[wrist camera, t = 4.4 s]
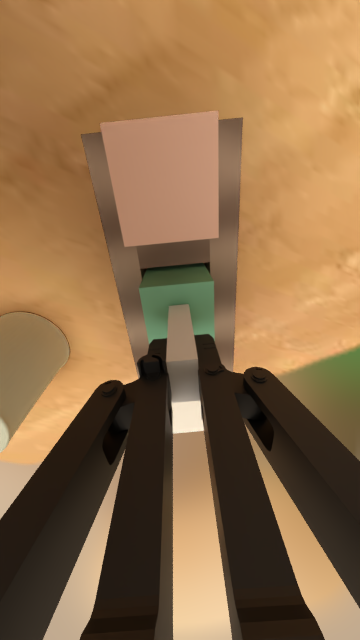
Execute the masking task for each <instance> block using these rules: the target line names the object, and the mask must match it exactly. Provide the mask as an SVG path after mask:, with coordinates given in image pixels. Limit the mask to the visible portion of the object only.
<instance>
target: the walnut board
mask: <svg viewBox="0 0 360 640" xmlns="http://www.w3.org/2000/svg"><path fill="white" fill-rule="evenodd" d="M242 124H243V118H234V119H224V120H218V159H219V238H212V239H202V240H191V241H181V242H171V243H160V244H150V245H140V246H129V247H124V242H123V237H122V232H121V227H120V222H119V217H118V212H117V207H116V202H115V197H114V192H113V187H112V182H111V177H110V172H109V167H108V162H107V157H106V152H105V147H104V142H103V137H102V132H99V133H89V134H81V137H82V141H83V145H84V150H85V154H86V158H87V162H88V167H89V171H90V175H91V179H92V184H93V188H94V192H95V196H96V200H97V205H98V209H99V213H100V217H101V222H102V226H103V230H104V234H105V239H106V243H107V247H108V251H109V255H110V260H111V264H112V268H113V272H114V277H115V281H116V285H117V289H118V294H119V298H120V302H121V306H122V310H123V315H124V319H125V323H126V327H127V332H128V336H129V340H130V344H131V349H132V353H133V357H134V361H135V365H136V370H137V374H138V378H140V375H139V371H138V367H137V362H138V360H139V359H140V358H141V357H142V356H145V355H147V354H148V348H149V341H148V336H147V330H146V325H145V320H144V314H143V309H142V304H141V298H140V293H139V286H140V284H141V282H142V279H143V277H144V275H145V272H146V270H147V268H153V267H163V266H174V265H184V264H195V263H204V265H205V267H206V268H207V270H208V272H209V274H210V275H211V277H212V279H213V280H214V329H215V344H216V348H217V351H218V354H219V357H220V360H221V363H222V365H224V366H225V368H226V369H227V370H229V371H231V372H233V359H234V333H235V307H236V281H237V255H238V229H239V203H240V176H241V150H242Z"/></svg>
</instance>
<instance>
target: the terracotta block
mask: <svg viewBox="0 0 360 640" xmlns="http://www.w3.org/2000/svg"><path fill="white" fill-rule="evenodd" d="M100 127H101V132H102V137H103V142H104V147H105V152H106V157H107V162H108V167H109V172H110V177H111V182H112V187H113V192H114V197H115V202H116V207H117V212H118V217H119V222H120V227H121V232H122V237H123V242H124V247H129V246H140V245H150V244H160V243H171V242H181V241H191V240H202V239H212V238H219V159H218V111H209V112H199V113H190V114H180V115H170V116H161V117H151V118H142V119H132V120H123V121H113V122H104V123H100Z"/></svg>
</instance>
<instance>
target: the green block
mask: <svg viewBox="0 0 360 640" xmlns="http://www.w3.org/2000/svg"><path fill="white" fill-rule="evenodd" d="M139 293H140V298H141V304H142V309H143V314H144V320H145V325H146V330H147V336H148V341H149V344H150V343H151V342H152V340H153V339H163V338H167V332H168V311H169V306H173V305H184V304H189V308H190V314H191V320H192V326H193V332H194V335H202V334H210V335H211V336H212V337H213V338H214V341H215V329H214V280H213V279H212V277H211V275H210V274H209V272H208V270H207V268H206V267H205V265H204V263H195V264H184V265H174V266H163V267H153V268H147V270H146V272H145V275H144V277H143V279H142V282H141V284H140V286H139Z"/></svg>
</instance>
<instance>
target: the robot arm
mask: <svg viewBox="0 0 360 640" xmlns="http://www.w3.org/2000/svg"><path fill="white" fill-rule="evenodd" d="M137 367H138V371H139V375H140V378H139V379H138V380H136V381H134V382H132V383H129V384H126V385H123V383H121V382H120V381H117V380H110V381H107V382H104V383H103V384H101V385H100V386H99V387H98V388H97V389H96V390H95V391H94V393H93V394H92V395H91V397H90V398H89V399H88V401H87V402H86V404H85V405H84V406H83V408H82V409H81V410H80V412H79V413H78V414H77V416H76V417H75V419H74V420H73V421H72V423H71V424H70V425H69V427H68V428H67V429H66V431H65V432H64V434H63V435H62V436H61V438H60V439H59V440H58V442H57V443H56V444H55V446H54V447H53V449H52V450H51V451H50V453H49V454H48V455H47V457H46V458H45V459H44V461H43V462H42V464H41V465H40V466H39V468H38V469H37V470H36V472H35V473H34V475H33V476H32V477H31V479H30V480H29V481H28V483H27V484H26V485H25V487H24V488H23V490H22V491H21V492H20V494H19V495H18V496H17V498H16V499H15V500H14V502H13V503H12V504H11V506H10V507H9V509H8V510H7V511H6V513H5V514H4V515H3V517H2V518H1V520H0V640H43V637H44V635H45V633H46V631H47V628H48V626H49V624H50V621H51V619H52V617H53V614H54V612H55V610H56V608H57V605H58V603H59V601H60V598H61V596H62V594H63V591H64V589H65V587H66V584H67V582H68V580H69V577H70V575H71V573H72V570H73V568H74V566H75V563H76V561H77V559H78V557H79V554H80V552H81V550H82V547H83V545H84V543H85V541H86V538H87V536H88V534H89V531H90V529H91V527H92V524H93V522H94V520H95V517H96V515H97V513H98V511H99V508H100V506H101V504H102V501H103V499H104V497H105V494H106V492H107V490H108V487H109V485H110V483H111V481H112V478H113V476H114V473H115V471H116V469H117V466H118V464H119V462H120V460H121V457H122V455H123V453H124V451H125V454H124V459H123V464H122V470H121V474H120V479H119V484H118V489H117V494H116V500H115V504H114V509H113V514H112V519H111V525H110V529H109V534H108V539H107V545H106V550H105V555H104V560H103V565H102V570H101V575H100V580H99V585H98V590H97V595H96V600H95V604H94V608H93V612H92V615H91V618H90V620H89V622H88V624H87V626H86V627H85V629H84V631H83V633H82V634H81V637H80V640H173V411H172V403H176V402H188V401H201V417H202V420H203V427H204V435H205V441H206V449H207V456H208V464H209V471H210V478H211V486H212V493H213V500H214V507H215V515H216V522H217V529H218V537H219V543H220V551H221V558H222V566H223V573H224V580H225V587H226V595H227V601H228V608H229V609H228V610H229V617H230V624H231V632H232V640H325V639H324V637H323V634H322V632H321V630H320V628H319V626H318V623H317V621H316V619H315V617H314V616H313V615H312V613H311V611H310V610H309V608H308V607H307V605H306V604H305V601H304V599H303V597H302V595H301V592H300V589H299V587H298V584H297V581H296V578H295V575H294V572H293V569H292V566H291V563H290V560H289V557H288V554H287V551H286V548H285V545H284V542H283V539H282V536H281V533H280V530H279V527H278V524H277V520H276V518H275V514H274V512H273V509H272V505H271V503H270V500H269V496H268V494H267V491H266V488H265V484H264V481H263V478H262V475H261V472H260V469H259V466H258V463H257V460H256V457H255V454H254V451H253V448H252V445H251V442H250V439H249V436H248V433H247V430H246V427H245V425H246V426H247V428H248V429H249V431H250V433H251V434H252V436H253V438H254V439H255V441H256V442H257V444H258V445H259V447H260V449H261V450H262V452H263V454H264V455H265V457H266V458H267V460H268V462H269V463H270V465H271V466H272V468H273V470H274V471H275V473H276V475H277V476H278V478H279V479H280V481H281V483H282V484H283V486H284V487H285V489H286V490H287V492H288V494H289V495H290V497H291V499H292V500H293V502H294V503H295V505H296V506H297V508H298V510H299V511H300V513H301V515H302V516H303V518H304V520H305V521H306V523H307V524H308V526H309V528H310V529H311V531H312V532H313V534H314V535H315V537H316V539H317V540H318V542H319V544H320V545H321V547H322V548H323V550H324V552H325V553H326V555H327V557H328V558H329V560H330V561H331V563H332V564H333V566H334V568H335V569H336V571H337V572H338V574H339V576H340V577H341V579H342V581H343V582H344V584H345V585H346V587H347V589H348V590H349V592H350V594H351V595H352V597H353V598H354V600H355V602H356V603H357V605H358V606H359V608H360V461H359V460H358V459H357V458H356V457H355V456H354V455H353V454H352V453H351V452H350V451H349V450H348V449H347V448H346V447H345V446H344V445H343V444H342V443H341V442H340V441H339V440H338V439H337V438H336V437H335V436H334V435H333V434H332V433H331V432H330V431H329V430H328V429H327V428H326V427H325V426H324V425H323V424H322V423H321V422H320V421H319V420H318V419H317V418H316V417H315V416H314V415H313V414H312V413H311V412H310V411H309V410H308V409H307V408H306V407H305V406H304V405H303V404H302V403H301V402H300V401H299V400H298V399H297V398H296V397H295V396H294V395H293V394H292V393H291V392H290V391H289V390H288V389H287V388H286V387H285V386H284V385H283V384H282V383H281V382H280V381H279V380H278V379H277V378H276V377H275V376H274V375H273V374H272V373H271V372H270V371H268V370H266V369H264V368H260V367H252V368H249V369H247V370H246V371H245V372H244V374H241V373H235V372H231V371H229V370H227V369H226V368H225V366H224V365H222V363H221V360H220V357H219V354H218V351H217V348H216V344H215V341H214V338H213V337H212V336H211V335H210V334H202V335H194V332H193V326H192V320H191V314H190V308H189V304H184V305H173V306H169V311H168V332H167V338H163V339H153V340H152V342H151V343H150V344H149V348H148V354H147V355H145V356H142V357H141V358H140V359H139V360H138V362H137ZM244 423H245V424H244ZM125 448H126V449H125Z"/></svg>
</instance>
